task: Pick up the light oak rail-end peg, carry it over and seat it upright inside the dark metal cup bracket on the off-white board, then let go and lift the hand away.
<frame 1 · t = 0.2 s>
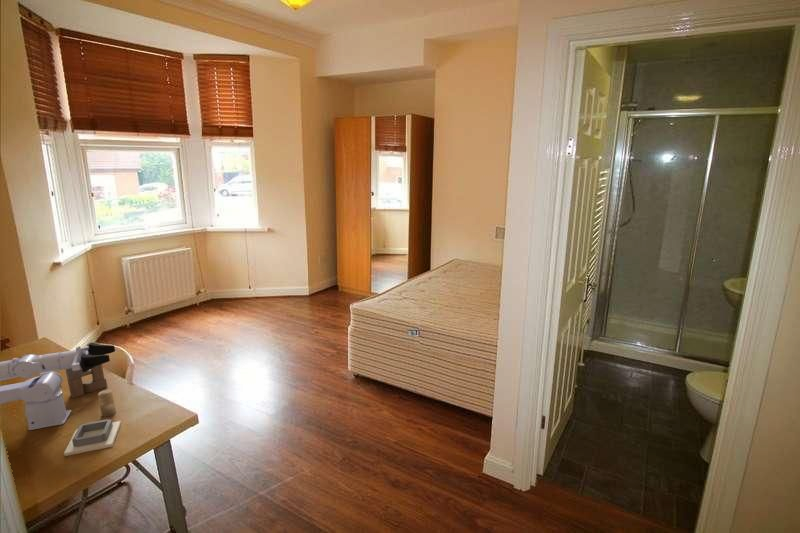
hand: (111, 353, 141), 21 cm above the table, tool horizontal, fingers open, 7 cm apart
grandmother figurine: (51, 403, 148), on the table
wooden block: (89, 391, 157), on the table
rail end peg: (108, 413, 143), on the table
cup bracket: (94, 438, 131), on the table
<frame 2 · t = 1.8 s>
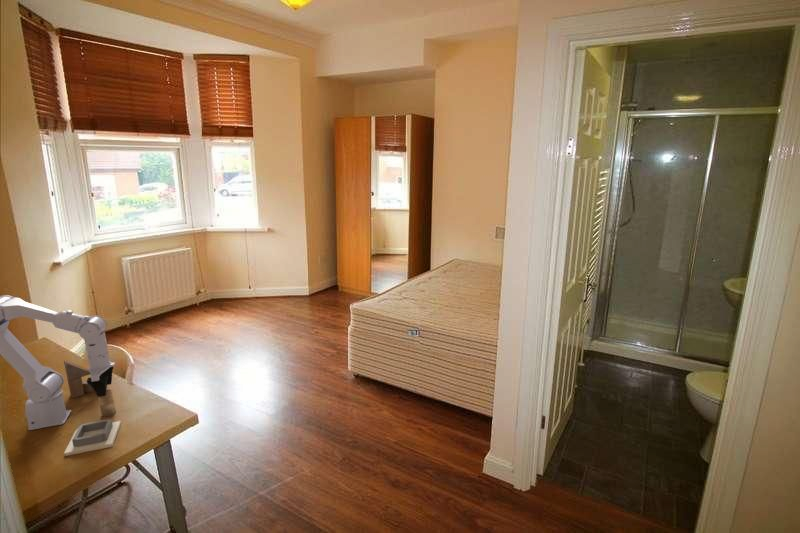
hand: (104, 390, 141), 9 cm above the table, tool pointing down, fingers open, 7 cm apart
nothing on the table moved.
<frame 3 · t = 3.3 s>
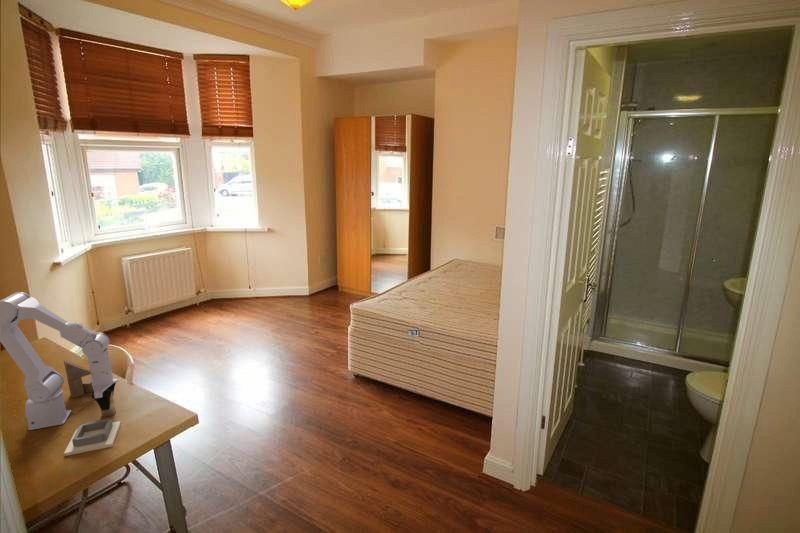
hand: (107, 405, 143), 3 cm above the table, tool pointing down, fingers closed on rail end peg, 4 cm apart
rail end peg: (108, 413, 143), on the table, touching gripper
everything else where it was.
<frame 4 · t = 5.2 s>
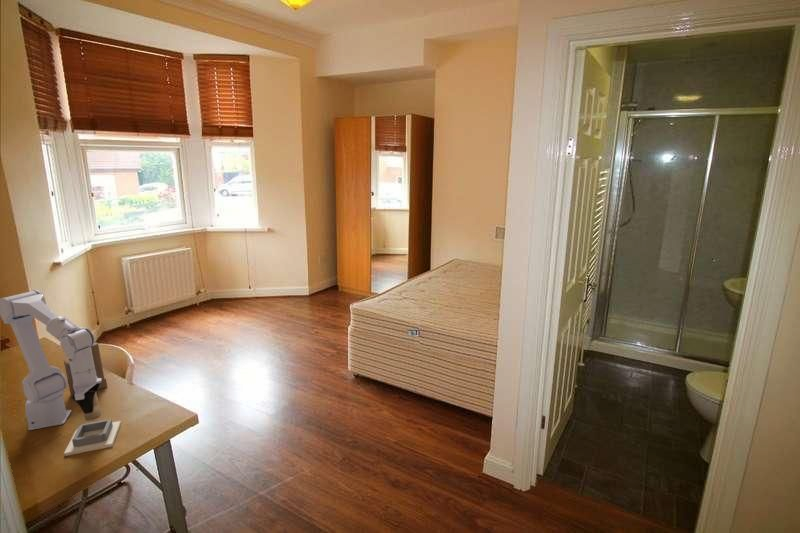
hand: (90, 408, 129), 10 cm above the table, tool pointing down, fingers closed on rail end peg, 4 cm apart
rail end peg: (93, 416, 130), point 7 cm above the table, touching gripper
everything else where it was.
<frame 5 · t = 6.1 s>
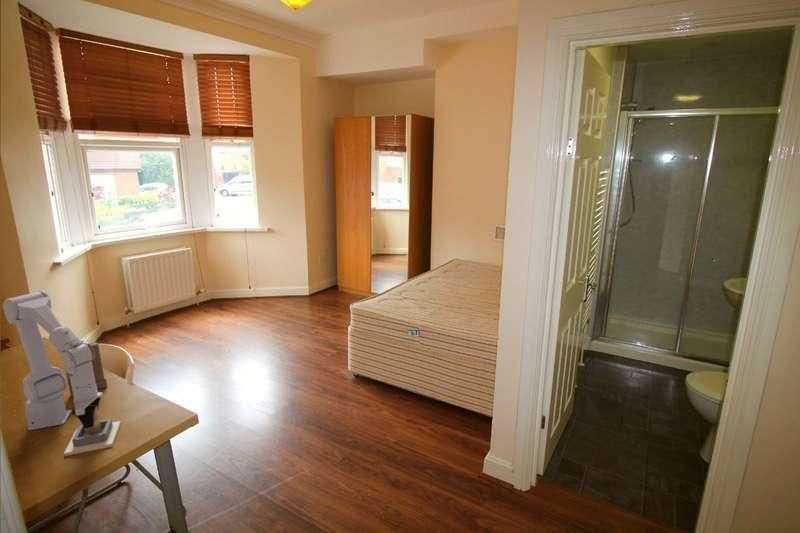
hand: (91, 422, 129), 6 cm above the table, tool pointing down, fingers closed on rail end peg, 4 cm apart
rail end peg: (93, 430, 130), point 3 cm above the table, touching gripper
everything else where it was.
when the fingers open (5 cm above the table, at t = 7.0 s): rail end peg drops 1 cm, resting on cup bracket.
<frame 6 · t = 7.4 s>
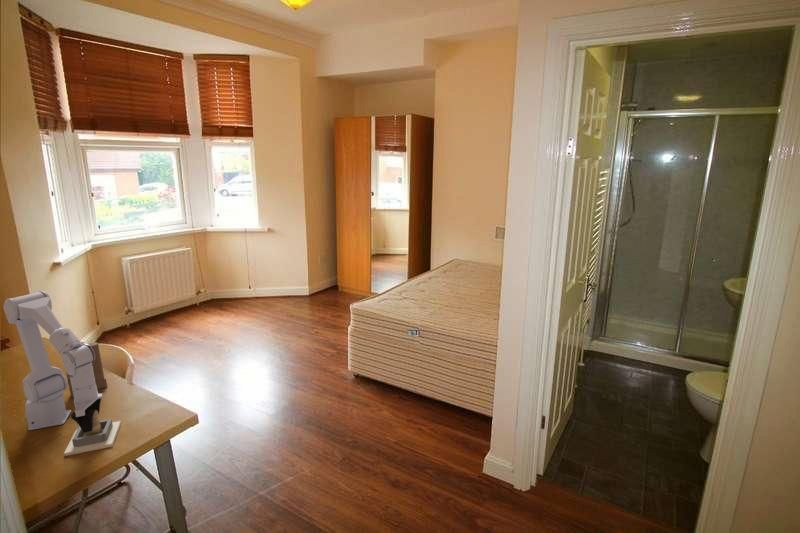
hand: (91, 423, 129), 5 cm above the table, tool pointing down, fingers open, 7 cm apart
rail end peg: (94, 436, 130), point 1 cm above the table, touching cup bracket
everything else where it was.
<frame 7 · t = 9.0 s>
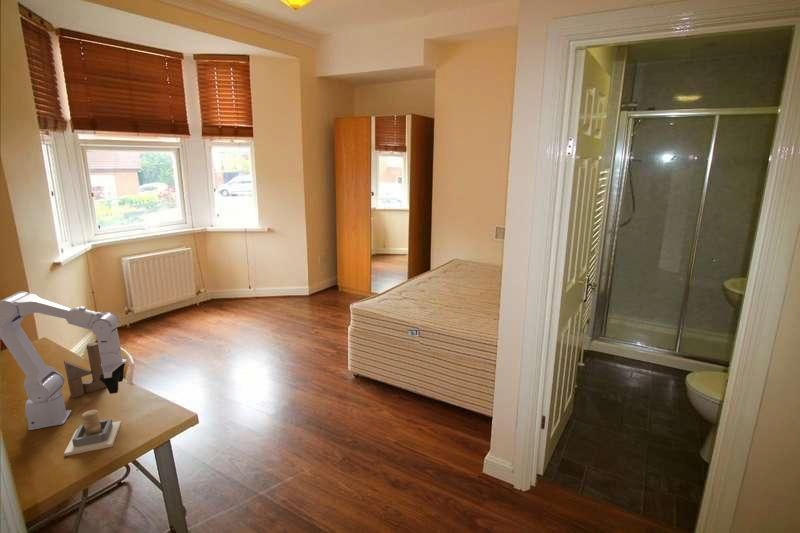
hand: (116, 387, 140), 10 cm above the table, tool pointing down, fingers open, 7 cm apart
nothing on the table moved.
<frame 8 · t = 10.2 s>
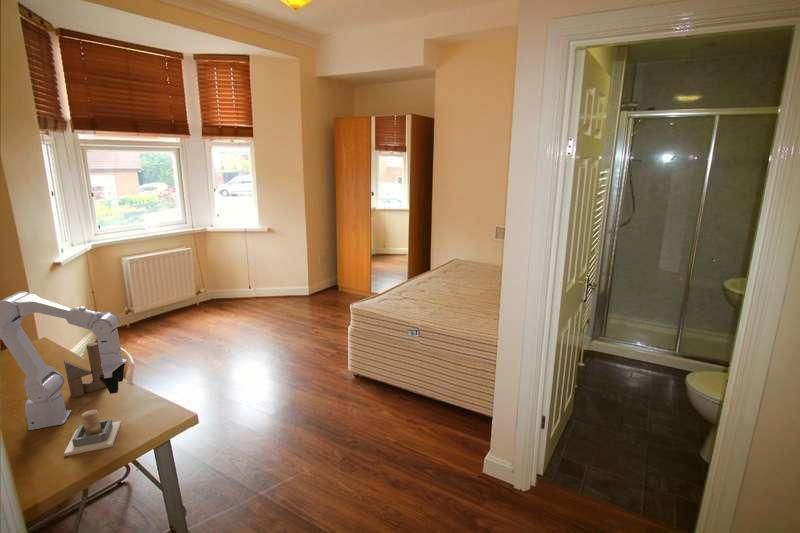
hand: (116, 387, 140), 10 cm above the table, tool pointing down, fingers open, 7 cm apart
nothing on the table moved.
at the end: rail end peg 0.1 cm off-centre on the cup bracket, point 1.0 cm above the cup bracket's base; rail end peg tilted 0°; the gripper is holding nothing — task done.
